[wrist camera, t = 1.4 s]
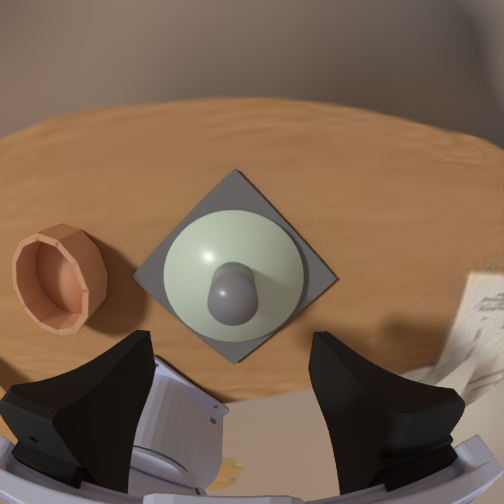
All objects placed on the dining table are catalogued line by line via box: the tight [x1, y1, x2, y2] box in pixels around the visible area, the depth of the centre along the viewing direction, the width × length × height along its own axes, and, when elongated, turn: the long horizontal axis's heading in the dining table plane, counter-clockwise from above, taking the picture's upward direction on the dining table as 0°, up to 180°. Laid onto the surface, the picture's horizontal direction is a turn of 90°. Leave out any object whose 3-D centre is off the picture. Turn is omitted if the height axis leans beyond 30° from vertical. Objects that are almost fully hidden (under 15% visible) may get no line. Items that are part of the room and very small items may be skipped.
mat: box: [132, 169, 337, 364], centre depth 20 cm, size 11×11×1 cm
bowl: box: [12, 224, 108, 335], centre depth 18 cm, size 8×8×4 cm
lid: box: [164, 210, 304, 342], centre depth 18 cm, size 10×10×4 cm
